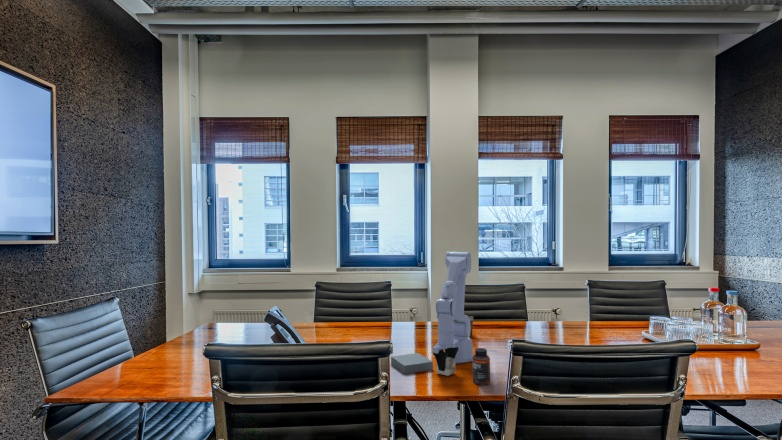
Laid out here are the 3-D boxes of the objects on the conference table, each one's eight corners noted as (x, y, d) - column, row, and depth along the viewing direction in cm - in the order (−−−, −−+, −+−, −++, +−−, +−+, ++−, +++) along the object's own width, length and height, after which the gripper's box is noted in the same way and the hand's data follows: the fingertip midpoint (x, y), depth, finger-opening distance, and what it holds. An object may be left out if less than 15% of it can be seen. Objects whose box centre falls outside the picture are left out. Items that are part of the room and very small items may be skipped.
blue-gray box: (418, 360, 164) (418, 352, 164) (432, 369, 153) (432, 361, 153) (391, 364, 159) (391, 356, 160) (404, 374, 148) (404, 365, 149)
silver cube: (443, 369, 152) (443, 355, 152) (455, 372, 149) (455, 358, 149) (436, 372, 148) (436, 359, 149) (448, 376, 145) (448, 361, 145)
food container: (451, 331, 212) (451, 312, 213) (462, 330, 214) (462, 311, 215) (462, 337, 201) (462, 317, 201) (473, 336, 203) (473, 316, 203)
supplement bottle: (487, 379, 144) (487, 347, 144) (492, 385, 138) (492, 352, 138) (470, 379, 143) (470, 347, 144) (474, 385, 138) (474, 352, 138)
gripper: (444, 337, 141) (444, 376, 141) (465, 329, 152) (465, 365, 152) (427, 333, 146) (427, 371, 145) (449, 326, 157) (449, 361, 156)
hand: (445, 368), depth 149 cm, fingers closed on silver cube, 5 cm apart
